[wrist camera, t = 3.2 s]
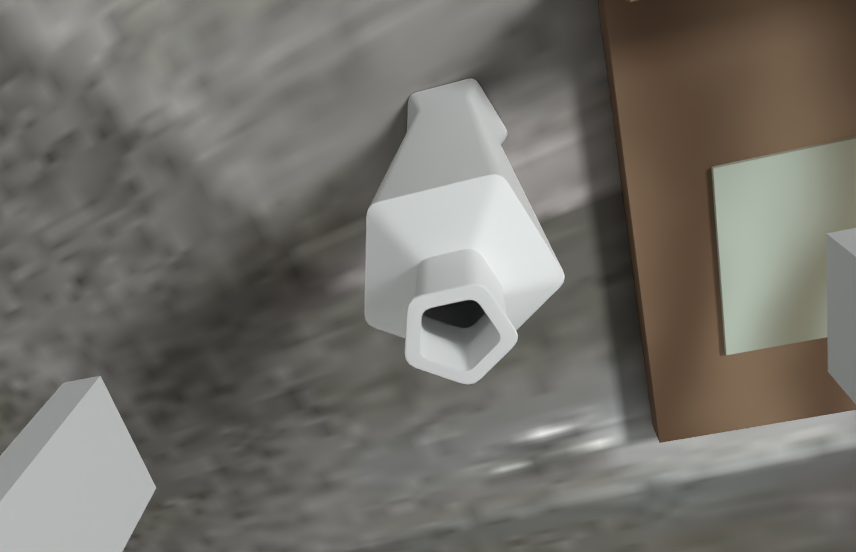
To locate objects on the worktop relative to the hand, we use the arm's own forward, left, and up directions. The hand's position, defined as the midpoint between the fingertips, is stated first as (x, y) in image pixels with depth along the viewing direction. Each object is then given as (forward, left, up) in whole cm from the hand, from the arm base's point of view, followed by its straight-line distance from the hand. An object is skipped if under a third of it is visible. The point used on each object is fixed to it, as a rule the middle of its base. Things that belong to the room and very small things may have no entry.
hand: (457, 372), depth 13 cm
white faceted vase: (0, 0, -16) cm, 16 cm away
